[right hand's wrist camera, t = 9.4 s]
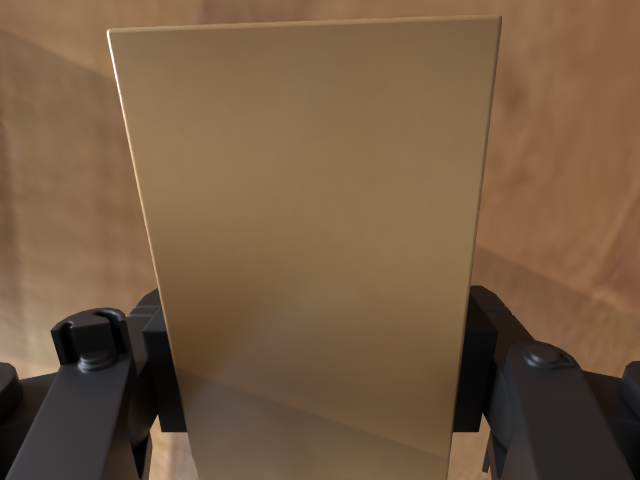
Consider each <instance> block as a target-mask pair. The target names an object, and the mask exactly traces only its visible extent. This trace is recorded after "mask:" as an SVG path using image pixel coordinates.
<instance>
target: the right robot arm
mask: <svg viewBox="0 0 640 480" xmlns="http://www.w3.org/2000/svg"><path fill="white" fill-rule="evenodd" d="M51 335H52V338H53V341H54V345H55V348H56V351H57V355H58V358H59V361H60V365H61V366H60V368H59V370H58V372H56V373H52V374H47V375H42V376H37V377H32V378H27V379H22V380H19V378H18V375H17V372H16V369H15V367H13V366H12V365H11V364H9V363H1V362H0V480H148V479H149V471H150V463H151V455H152V440H151V435H150V429H151V427H152V425H153V423H154V421H155V419H156V417H157V415H158V416H159V421H160V426H161V431H162V432H187V427H186V423H185V418H184V413H183V408H182V403H181V398H180V393H179V388H178V383H177V378H176V373H175V368H174V363H173V359H172V354H171V349H170V344H169V339H168V334H167V329H166V324H165V319H164V314H163V309H162V304H161V299H160V295H159V290H158V288H157V289H155V290H153V291H152V292H150V293H149V294H147V295H145V296H144V297H143V299H142V300H141V301H140V302H139V303H138V304H137V306H136V308H134V309H133V310H132V311H131V313H130V314H129V317H125V314H124V313H123V312H122V311H120V310H118V309H113V308H96V309H91V310H86V311H82V312H79V313H77V314H74V315H72V316H69V317H67V318H66V319H64V320H62V321H61V322H59V323H57V324H56V325H55V327H54V328H53V329H52V330H51ZM482 413H483V414H484V416H485V418H486V420H487V422H488V424H489V426H490V428H491V430H490V435H489V439H488V444H487V449H486V453H485V458H484V463H483V469H482V472H486V473H488V469H489V464H490V470H491V478H492V480H640V361H633V362H631V363H630V364H628V365H627V366H626V368H625V371H624V373H623V376H622V378H617V377H612V376H607V375H602V374H597V373H592V372H588V371H584V370H581V368H580V366H579V364H578V363H577V362H576V361H575V359H574V358H573V357H572V356H571V355H569V354H568V353H566V352H565V351H563V350H562V349H560V348H557V347H555V346H553V345H551V344H548V343H544V342H540V341H536V340H534V338H533V337H532V336H531V335H530V334H529V333H528V331H527V330H526V329H525V328H524V327H523V326H522V324H521V323H520V322H519V321H518V320H517V319H516V317H515V316H514V315H512V313H511V312H510V310H509V309H508V308H507V307H505V306H504V303H503V302H502V301H501V300H500V299H499V298H498V296H497V295H496V294H494V293H493V292H491V291H489V290H488V289H486V288H484V287H483V286H470V292H469V300H468V309H467V317H466V325H465V334H464V342H463V350H462V359H461V367H460V376H459V384H458V392H457V401H456V409H455V417H454V426H453V432H479V428H480V423H481V418H482Z"/></svg>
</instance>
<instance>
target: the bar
mask: <svg viewBox="0 0 640 480" xmlns="http://www.w3.org/2000/svg"><path fill="white" fill-rule="evenodd" d="M501 24H502V16H501V15H498V14H477V15H450V16H423V17H396V18H369V19H342V20H315V21H288V22H260V23H233V24H206V25H179V26H152V27H125V28H111V29H109V30H107V39H108V44H109V48H110V53H111V58H112V63H113V68H114V73H115V78H116V83H117V88H118V93H119V98H120V103H121V108H122V112H123V117H124V122H125V127H126V132H127V137H128V142H129V147H130V152H131V157H132V162H133V167H134V172H135V176H136V181H137V186H138V191H139V196H140V201H141V206H142V211H143V216H144V221H145V226H146V231H147V236H148V240H149V245H150V250H151V255H152V260H153V265H154V270H155V275H156V280H157V285H158V290H159V295H160V299H161V304H162V309H163V314H164V319H165V324H166V329H167V334H168V339H169V344H170V349H171V354H172V359H173V363H174V368H175V373H176V378H177V383H178V388H179V393H180V398H181V403H182V408H183V413H184V418H185V423H186V427H187V432H188V437H189V442H190V447H191V452H192V457H193V462H194V467H195V472H196V477H197V480H447V476H448V467H449V459H450V451H451V442H452V434H453V426H454V417H455V409H456V401H457V392H458V384H459V376H460V367H461V359H462V350H463V342H464V334H465V325H466V317H467V309H468V300H469V292H470V284H471V275H472V267H473V259H474V250H475V242H476V233H477V225H478V217H479V208H480V200H481V192H482V183H483V175H484V167H485V158H486V150H487V142H488V133H489V125H490V116H491V108H492V100H493V91H494V83H495V75H496V66H497V58H498V50H499V41H500V33H501Z"/></svg>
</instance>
